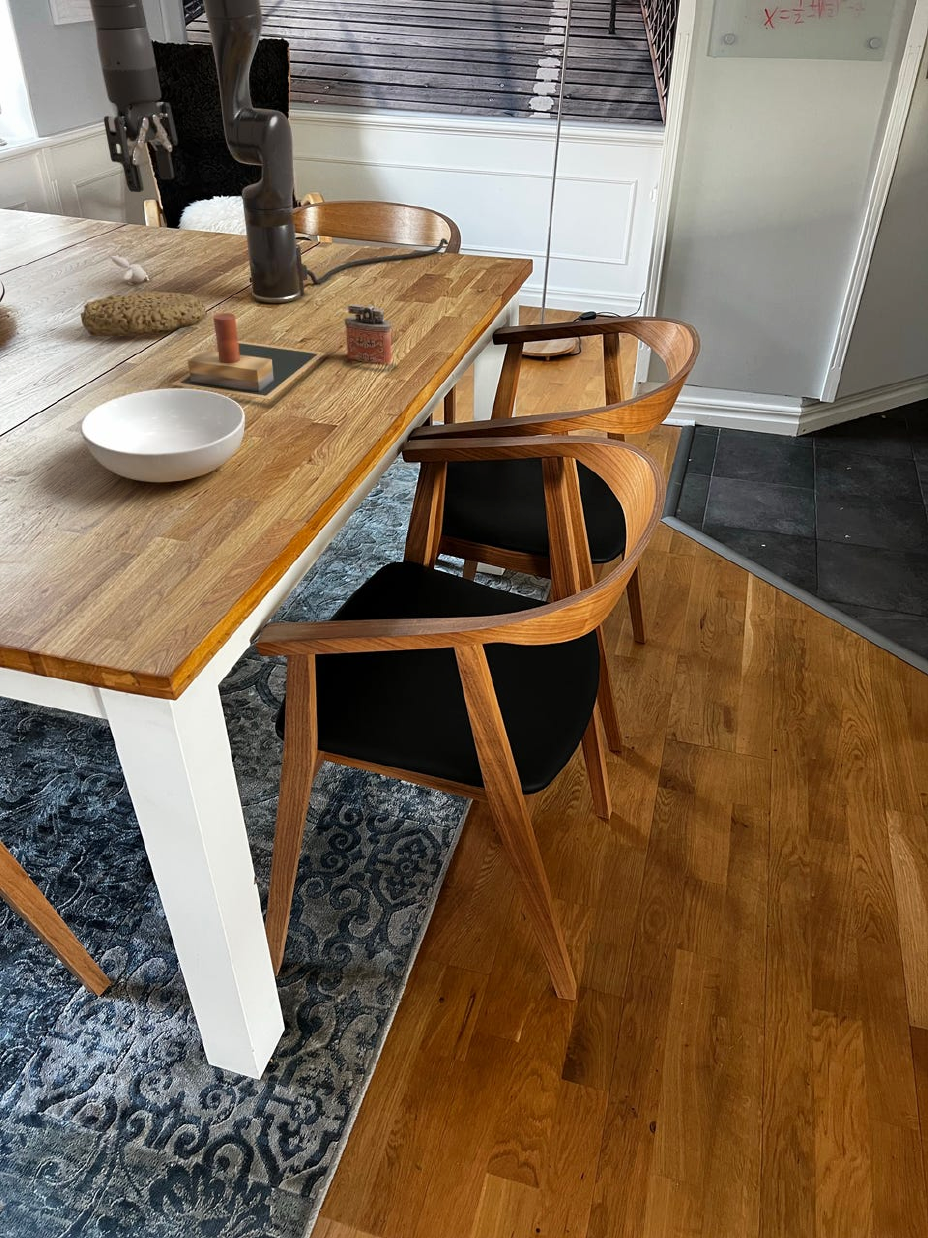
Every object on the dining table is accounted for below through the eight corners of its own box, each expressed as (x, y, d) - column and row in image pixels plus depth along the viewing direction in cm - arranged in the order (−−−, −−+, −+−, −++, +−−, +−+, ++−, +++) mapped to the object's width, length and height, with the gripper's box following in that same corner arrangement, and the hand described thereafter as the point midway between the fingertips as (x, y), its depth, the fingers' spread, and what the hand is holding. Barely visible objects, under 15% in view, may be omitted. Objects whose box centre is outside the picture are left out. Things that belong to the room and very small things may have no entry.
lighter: (395, 365, 161) (394, 305, 155) (387, 372, 158) (386, 312, 152) (351, 358, 163) (348, 299, 157) (343, 365, 160) (340, 306, 154)
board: (236, 346, 166) (236, 340, 165) (326, 359, 162) (325, 352, 161) (172, 391, 150) (170, 383, 149) (269, 406, 146) (268, 398, 145)
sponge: (87, 351, 166) (195, 329, 164) (71, 305, 163) (181, 282, 161) (114, 339, 178) (215, 318, 176) (100, 295, 175) (203, 275, 173)
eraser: (190, 381, 150) (180, 316, 144) (206, 370, 154) (197, 306, 148) (259, 391, 147) (252, 326, 141) (273, 380, 151) (267, 315, 145)
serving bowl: (170, 518, 118) (161, 468, 114) (58, 474, 127) (45, 426, 123) (281, 455, 132) (276, 409, 128) (173, 420, 141) (166, 375, 137)
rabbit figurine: (158, 282, 195) (127, 272, 188) (147, 295, 197) (116, 286, 190) (145, 260, 196) (114, 250, 189) (134, 274, 198) (103, 264, 191)
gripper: (122, 71, 130) (147, 197, 140) (177, 57, 141) (197, 175, 151) (75, 69, 132) (104, 194, 142) (134, 56, 143) (156, 173, 153)
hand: (152, 184), depth 146 cm, fingers open, 8 cm apart
